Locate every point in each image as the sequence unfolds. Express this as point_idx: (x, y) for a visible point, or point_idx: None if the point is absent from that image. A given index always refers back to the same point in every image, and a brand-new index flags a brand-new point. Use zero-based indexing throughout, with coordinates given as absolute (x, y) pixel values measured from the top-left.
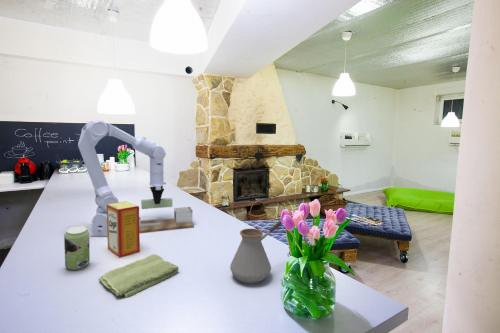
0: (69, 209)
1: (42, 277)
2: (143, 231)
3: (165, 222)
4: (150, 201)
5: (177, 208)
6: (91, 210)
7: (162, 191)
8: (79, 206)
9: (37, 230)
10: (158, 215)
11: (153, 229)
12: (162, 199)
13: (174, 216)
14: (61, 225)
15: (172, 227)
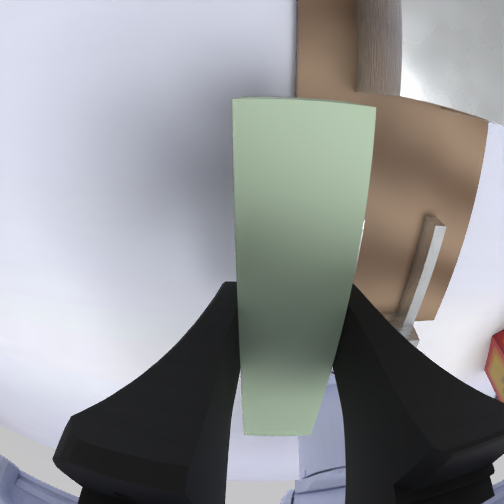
0: (54, 427)
1: None
2: (439, 298)
3: (374, 166)
4: (323, 385)
5: (427, 66)
6: (51, 402)
7: (489, 409)
8: (24, 408)
9: (233, 475)
10: (105, 185)
11: (457, 257)
12: (319, 276)
13: (385, 95)
14: None
15: (483, 152)
